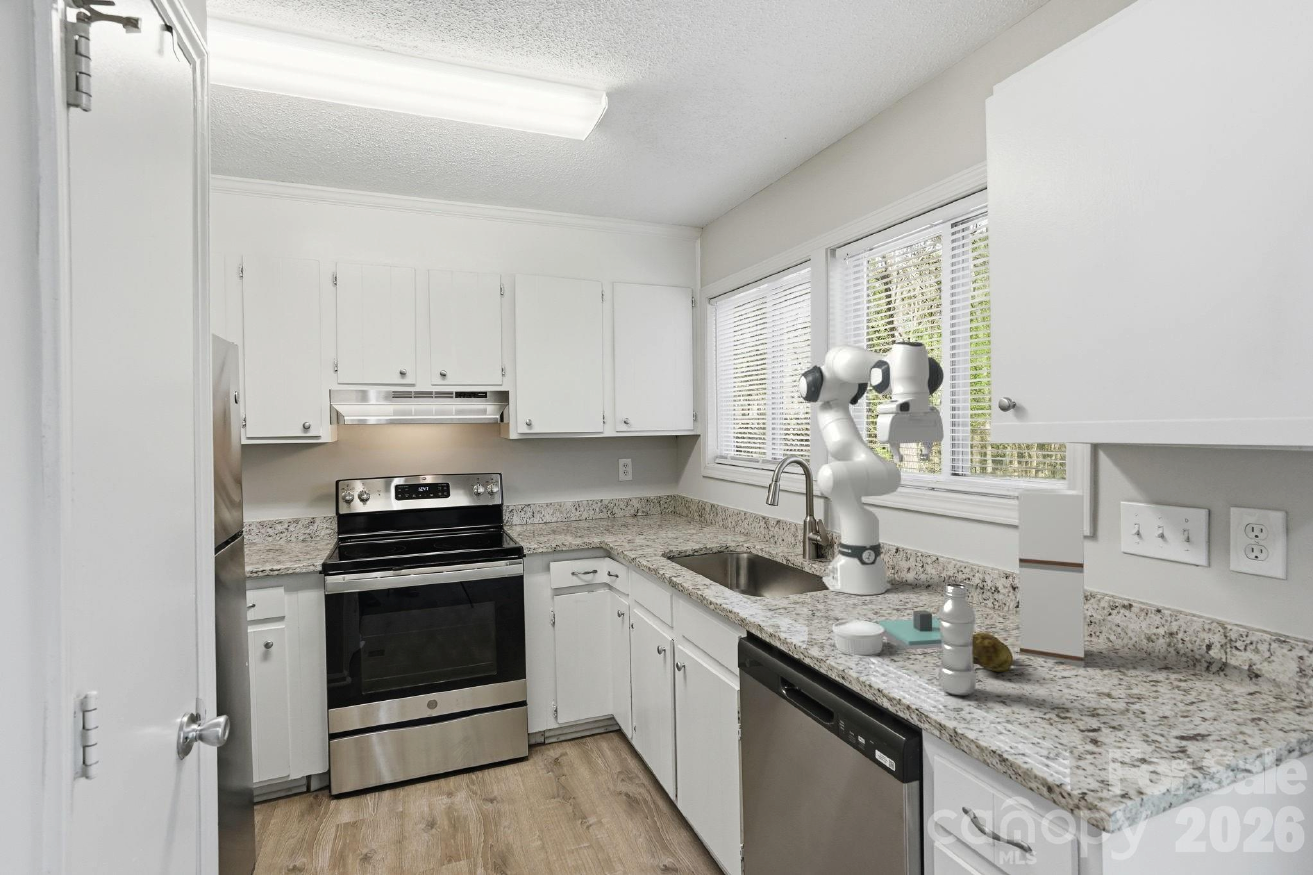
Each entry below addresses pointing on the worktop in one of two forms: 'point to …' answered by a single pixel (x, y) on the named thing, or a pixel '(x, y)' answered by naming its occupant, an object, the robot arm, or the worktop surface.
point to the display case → (1051, 575)
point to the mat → (905, 645)
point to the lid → (915, 628)
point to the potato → (991, 653)
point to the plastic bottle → (957, 641)
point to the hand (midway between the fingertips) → (911, 461)
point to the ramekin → (858, 637)
